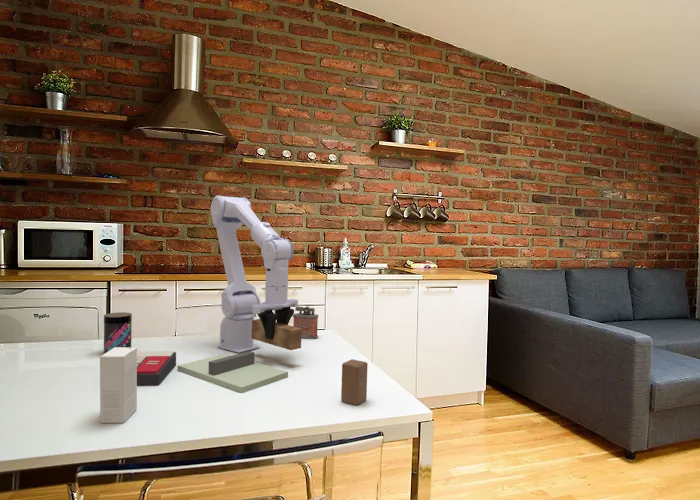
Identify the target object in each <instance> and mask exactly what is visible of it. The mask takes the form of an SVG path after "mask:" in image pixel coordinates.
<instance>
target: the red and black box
mask: <svg viewBox="0 0 700 500" xmlns="http://www.w3.org/2000/svg"><path fill="white" fill-rule="evenodd" d="M175 367H177V352H176V351H174V350H166V351H164V350H163V351H162V350H155V351H154V350H153V351H151V350H150V351H149V350H148V351H147V350H144V351H143V350H142V351H141V350H140V351H138V350H137V387H151V386H153V387H154V386H155V387H156V386H157V387H158V386H160V385H161V384H162V383H163V381H164V380H165V379H166V378H167V377H168V376H169V374H170V373H171V371H173V370H174V369H175Z"/></svg>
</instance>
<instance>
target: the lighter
mask: <svg viewBox="0 0 700 500" xmlns="http://www.w3.org/2000/svg"><path fill="white" fill-rule="evenodd" d="M294 308H295V309H294V314H293V315H292V318H293V326H294V327H298V328H302V331H301V340H318V337H319V336H318V325H319V324H318V323H319V321H318V319H319V314H318V313H317V314H316V313H315V309H316V308H315V307H310V306H307V305H306V306H305V307H303V306H298V307H294ZM296 311H297V312H298V313H295V312H296Z"/></svg>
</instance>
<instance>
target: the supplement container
mask: <svg viewBox="0 0 700 500" xmlns="http://www.w3.org/2000/svg"><path fill="white" fill-rule="evenodd" d="M132 315H133V313H131V312H123V311H122V312H119V311H118V312H110V313H105V314H104V315H103V354H105V353H107V352H108V351H110V350H111V349H113V348H115V347H126V348H132V342H133V341H132V338H133V337H132V332H133V331H132V328H133V327H132V325H133V324H132V320H133V317H132Z"/></svg>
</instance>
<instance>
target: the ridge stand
mask: <svg viewBox="0 0 700 500" xmlns="http://www.w3.org/2000/svg"><path fill="white" fill-rule="evenodd" d="M255 353H256V352H253V351H252V350H249V351H245V352H241V353H236V354H233V355H232V354H228V353H221V354H218V355H213V356H211V357H210V356H209V357H206V358H203V359H198V360H195V361H189V362H186V363H182V364H178V365H177V371H178V372H181V373H184V374H187V375H189V376H193V377H195V378H198V379H201V380H203V381H206V382H209V383H213V384H214V385H218V386H220V387H223V388H225V389H229V390H231V391H234V392H236V393H241V394H243V393H246V392H249V391H251V390H255V389H258V388H260V387H263V386H266V385H268V384H271V383H274V382H278V381H280V380H283V379H286V378H289V371H286V370H283V369H280V368H277V367H273V366H269V365H267V364H262V363H259V362H255V359H256V358H255V357H256V355H255Z"/></svg>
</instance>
